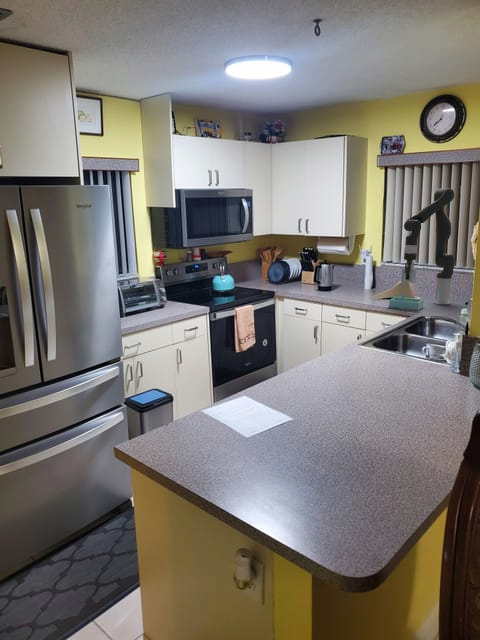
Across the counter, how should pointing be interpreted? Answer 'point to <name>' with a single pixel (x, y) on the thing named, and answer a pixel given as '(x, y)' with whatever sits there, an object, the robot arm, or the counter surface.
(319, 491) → the counter surface
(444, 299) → the robot arm
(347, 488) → the counter surface
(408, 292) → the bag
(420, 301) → the tote
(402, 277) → the medicine box
